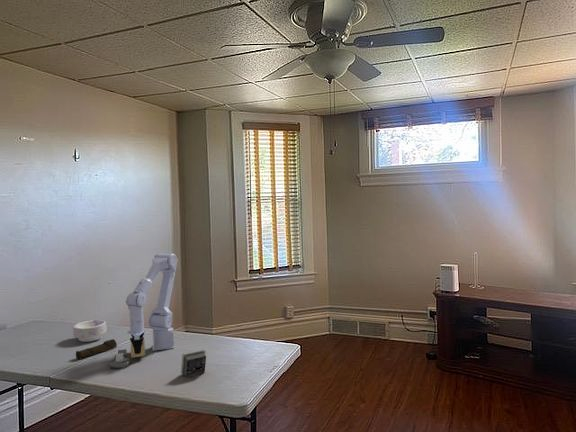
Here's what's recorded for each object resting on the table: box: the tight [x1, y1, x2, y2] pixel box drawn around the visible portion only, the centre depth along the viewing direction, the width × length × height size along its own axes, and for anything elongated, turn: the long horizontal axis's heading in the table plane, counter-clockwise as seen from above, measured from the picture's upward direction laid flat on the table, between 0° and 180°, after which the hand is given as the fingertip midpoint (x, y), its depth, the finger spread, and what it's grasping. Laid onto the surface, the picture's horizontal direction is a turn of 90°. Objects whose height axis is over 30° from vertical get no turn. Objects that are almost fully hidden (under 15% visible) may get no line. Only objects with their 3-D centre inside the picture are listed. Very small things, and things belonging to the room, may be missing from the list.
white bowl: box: [72, 319, 107, 343], centre depth 219 cm, size 15×15×8 cm
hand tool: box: [75, 339, 117, 361], centre depth 197 cm, size 19×4×5 cm, turn 142°
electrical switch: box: [180, 348, 207, 378], centre depth 170 cm, size 9×5×9 cm, turn 122°
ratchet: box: [109, 348, 131, 371], centre depth 187 cm, size 20×8×5 cm, turn 17°
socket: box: [130, 340, 146, 358], centre depth 189 cm, size 6×6×6 cm
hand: (138, 351), depth 189 cm, fingers closed on socket, 6 cm apart
